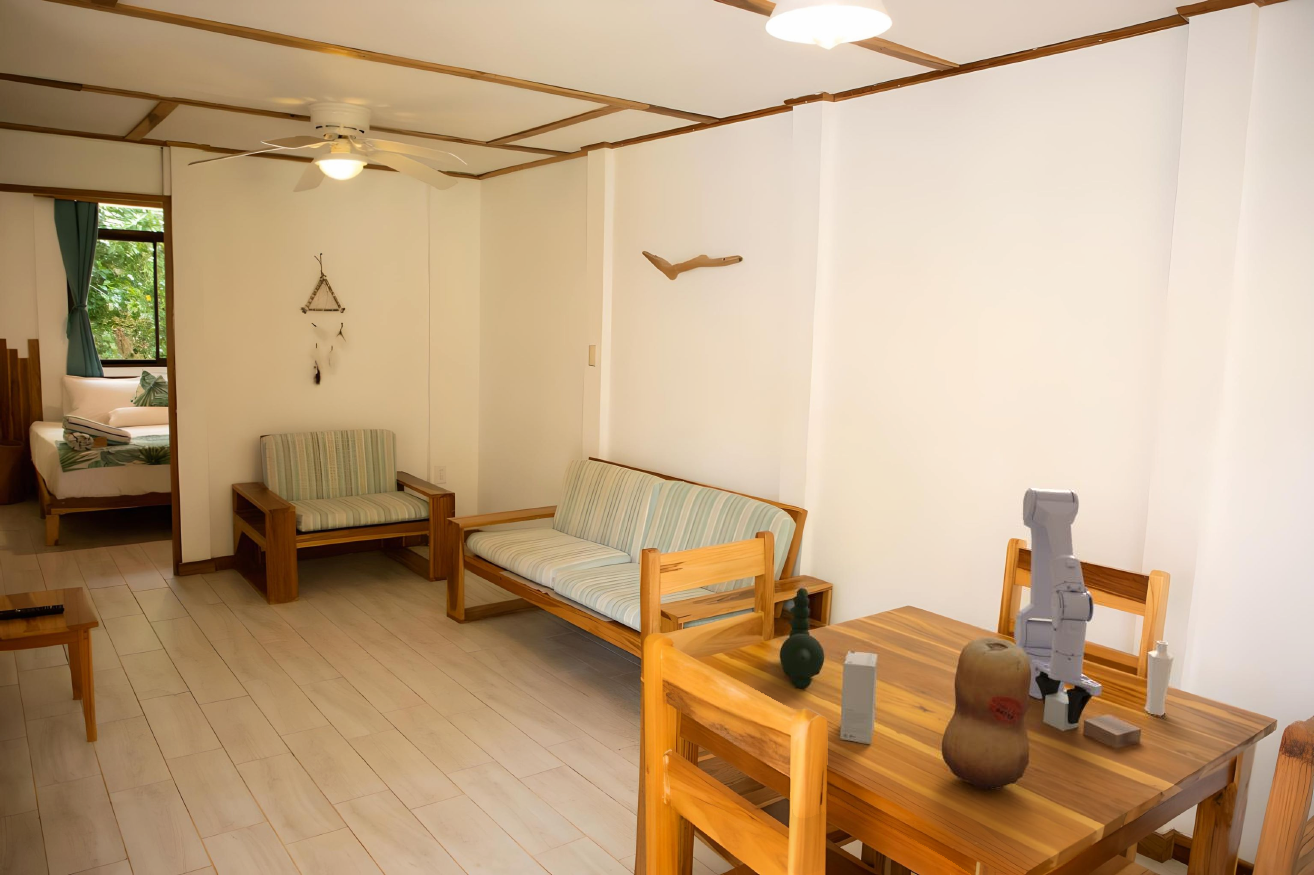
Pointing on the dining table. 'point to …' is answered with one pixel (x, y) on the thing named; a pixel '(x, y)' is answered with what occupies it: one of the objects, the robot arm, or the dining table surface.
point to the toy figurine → (801, 645)
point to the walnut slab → (1112, 731)
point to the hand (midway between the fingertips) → (1061, 717)
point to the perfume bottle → (1158, 678)
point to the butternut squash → (989, 714)
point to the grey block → (1057, 711)
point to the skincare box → (858, 697)
